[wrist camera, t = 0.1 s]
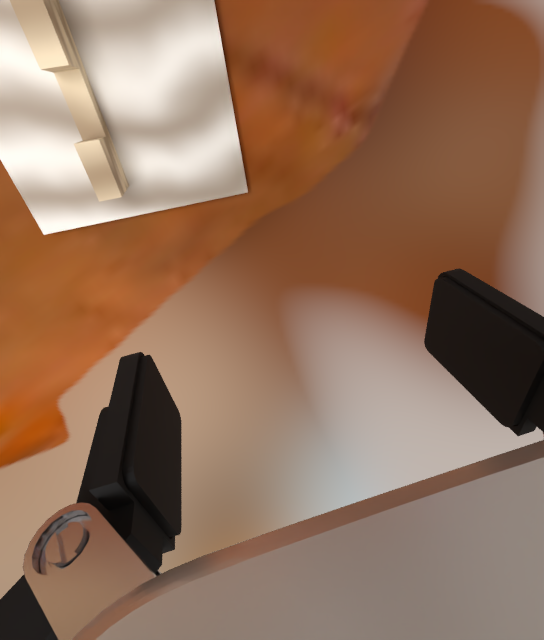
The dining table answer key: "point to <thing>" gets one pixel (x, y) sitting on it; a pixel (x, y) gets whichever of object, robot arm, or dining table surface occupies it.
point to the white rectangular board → (115, 108)
